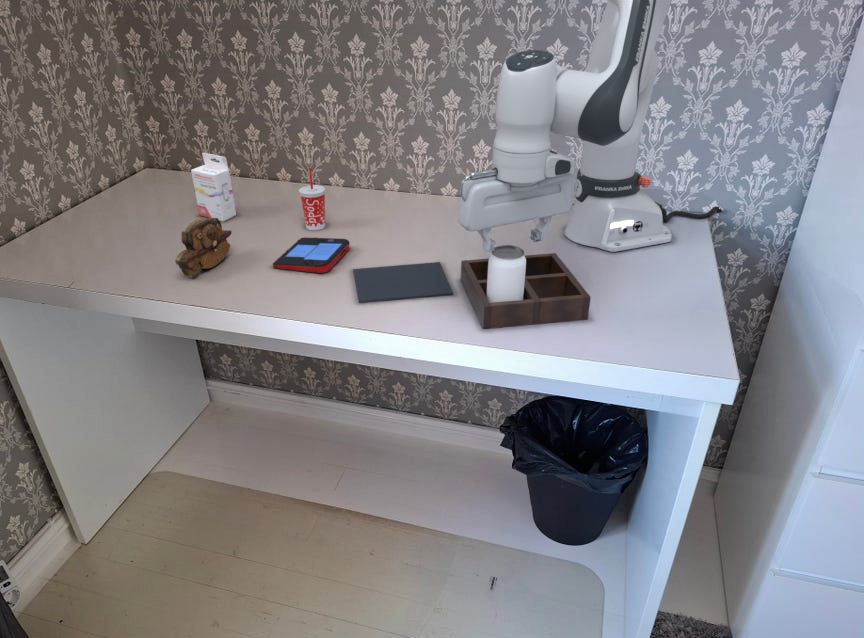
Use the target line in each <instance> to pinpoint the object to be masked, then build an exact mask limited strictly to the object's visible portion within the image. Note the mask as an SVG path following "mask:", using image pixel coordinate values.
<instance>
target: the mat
mask: <svg viewBox="0 0 864 638" xmlns="http://www.w3.org/2000/svg"><path fill="white" fill-rule="evenodd" d="M442 266H443V265H442V264H441V262H440V261H436V262H434V261H433V262H424V263H423V262H422V263H413V264H399V265H387V266H374V267H362V268H361V267H360V268H353V270H352V271H353V276H354V282H355V287H356V288H355V289H356V293H357V298H358V303H359V304H362V303H364V304H366V303H375V302H386V301H387V302H388V301H398V300H411V299H422V298H434V297H445V296H453V295H454V292H453V290H452V289H453V288H452V287H451V285H450V282H449V280H448V278H447V276H446V273H445V271H444V269H443V267H442Z"/></svg>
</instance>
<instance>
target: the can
mask: <svg viewBox="0 0 864 638" xmlns="http://www.w3.org/2000/svg"><path fill="white" fill-rule="evenodd" d="M490 252H491V253H490V255H489V256H488V257H489V261H488V277H487V296H486V297H487V299H488V301H489V303H493V302H504V301H516V300H523V295H524V283H525V271H526V258H525V253H526V252H525V250H524V249H523V248H522V247H519V246H517V245H511V244H505V245H504V244H502V245H498V246H497V245H496V246H495V250H494V251H490Z"/></svg>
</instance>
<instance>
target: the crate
mask: <svg viewBox="0 0 864 638" xmlns="http://www.w3.org/2000/svg"><path fill="white" fill-rule="evenodd" d="M524 256H525V258H526V271H525V283H524V295H523V300H516V301H504V302H493V303H489V301H488V299H487V297H486V296H487V277H488V261H489V258H488V257H487V258H478V259H477V258H476V259H468V260H467V259H465V260H461V261H460V283H461V285H462V287H463V289H464V292H465V294H466V296H467V298H468V300H469V302H470V304H471V307H472V309H473V311H474V313H475V315H476V317H477V318H478V321H479V323H480V325H481V327H482V330H488V329H497V328H508V327H509V328H510V327H519V326H521V327H522V326H532V325H542V324H555V323H565V322H577V321H587V320H588V319H589V312H590V304H591V299H592V297H591V295H590V294H589V293H588V292H587V291H586V289H585V288H584V287H583V285H582V284H581V283H580V282H579V280H578V279H577V277H576V276H575V275H574V274H573V273H572V271H570V268H568V267H567V265H566V264H565V263H564V261H563V260H562V259H561V258H560V256H559V255H558V254H557V253H556V252H550V253H540V254H539V253H538V254H527V255H525V254H524Z"/></svg>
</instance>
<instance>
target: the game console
mask: <svg viewBox="0 0 864 638" xmlns="http://www.w3.org/2000/svg"><path fill="white" fill-rule="evenodd" d="M350 245H351V244H350V241H349V240H348V239H346V238H331V237H330V238H329V237H301V238H299V239H298V240H297V241H296V242H295V243H294V244H292V245H291V246H290V247H289V248H287V249H286V251H284V253H283V254H282V255H280V256H279V257H278V258H277V259H276V260H275V261H274V262H272V267H273V268H275V269H279V270H287V271H289V270H291V271H295V272H304V273H313V274H325V273H328V272H330V271H331V269H332V268H334V267H335V266H336V265H337V263H338V262H339V261H340V260H341V258H343V257H344V256H345V254H346V253H347V252H348V251H350Z"/></svg>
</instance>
